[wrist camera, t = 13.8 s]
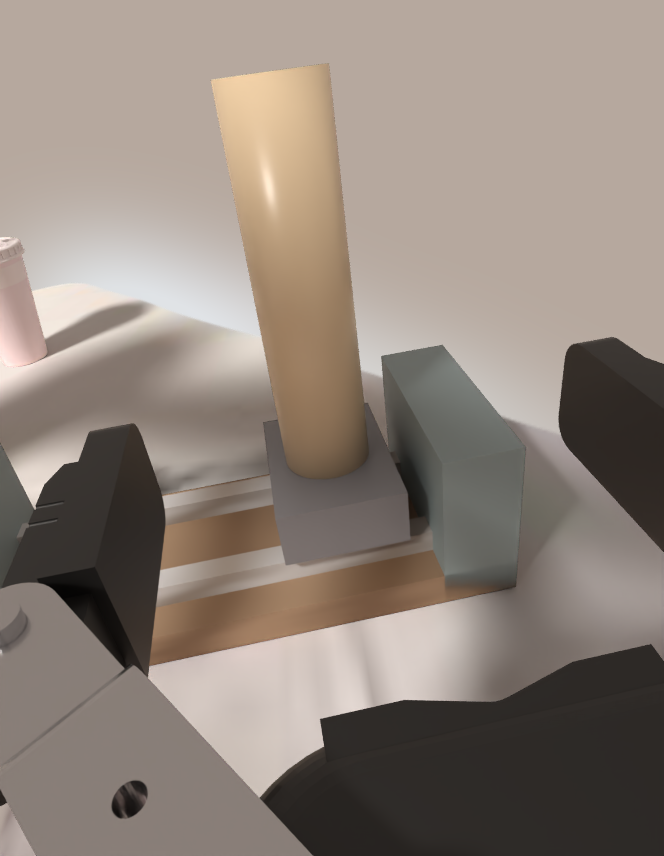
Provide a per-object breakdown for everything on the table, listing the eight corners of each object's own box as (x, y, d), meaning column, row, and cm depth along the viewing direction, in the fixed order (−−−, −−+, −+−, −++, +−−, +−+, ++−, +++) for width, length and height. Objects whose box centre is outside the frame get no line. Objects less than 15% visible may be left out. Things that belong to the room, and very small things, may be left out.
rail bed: (-88, 716, 22) (-123, 676, 21) (-10, 552, 30) (-32, 515, 28) (515, 586, 24) (518, 542, 23) (444, 463, 32) (443, 424, 30)
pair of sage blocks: (-88, 716, 22) (-199, 590, 18) (-7, 547, 30) (-74, 434, 26) (515, 586, 24) (525, 447, 20) (442, 458, 32) (439, 341, 28)
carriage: (285, 565, 23) (178, 86, 14) (272, 463, 29) (190, 81, 20) (410, 540, 23) (380, 57, 14) (371, 444, 29) (333, 61, 20)
